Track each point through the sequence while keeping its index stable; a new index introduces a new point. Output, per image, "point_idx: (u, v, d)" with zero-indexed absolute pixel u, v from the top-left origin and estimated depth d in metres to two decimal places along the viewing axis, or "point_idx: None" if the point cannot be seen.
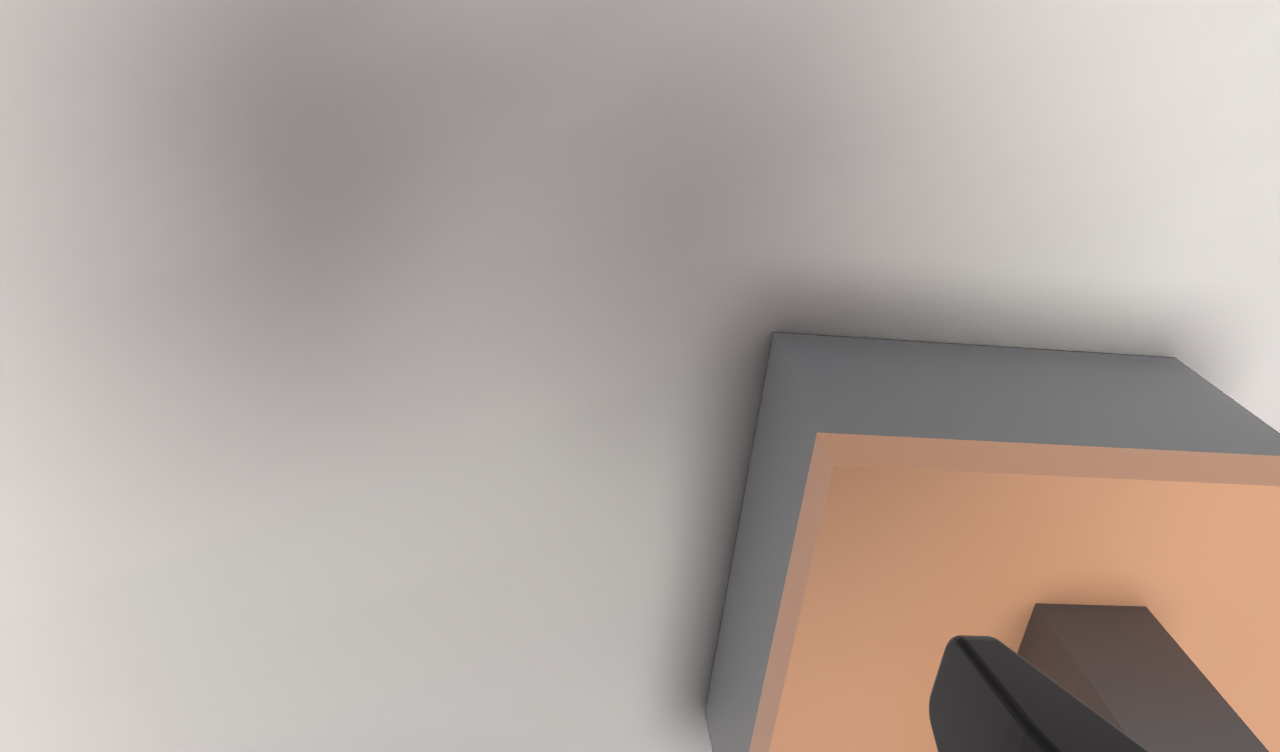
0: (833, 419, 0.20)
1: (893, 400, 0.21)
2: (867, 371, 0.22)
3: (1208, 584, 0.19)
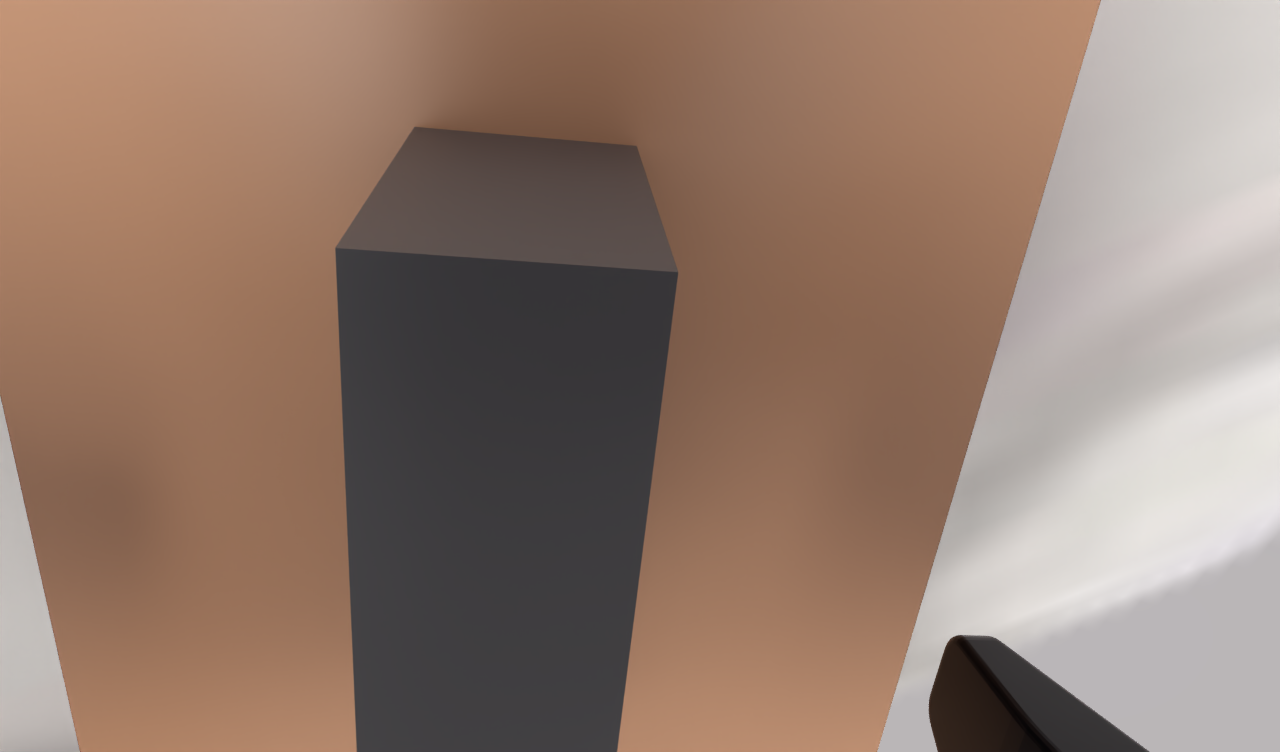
0: None
1: None
2: None
3: (746, 99, 0.10)
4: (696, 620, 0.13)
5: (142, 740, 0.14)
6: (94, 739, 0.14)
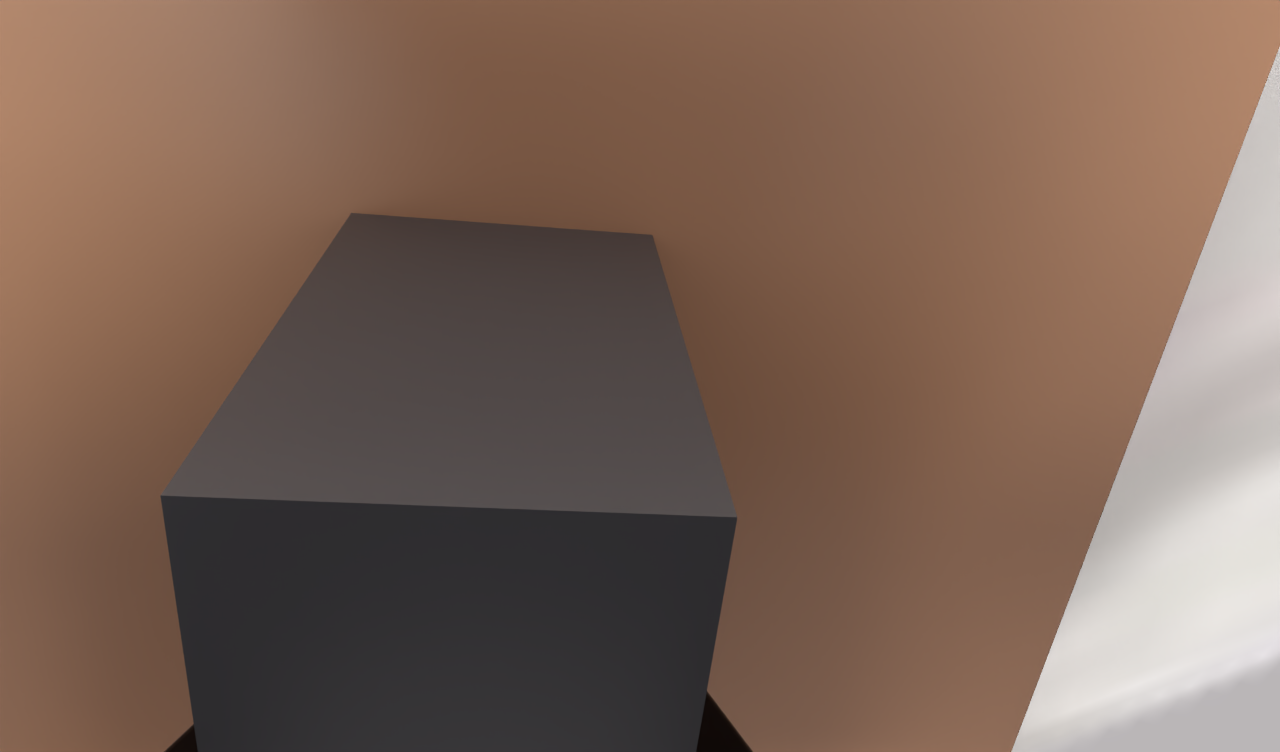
0: None
1: None
2: None
3: (801, 172, 0.08)
4: None
5: None
6: None
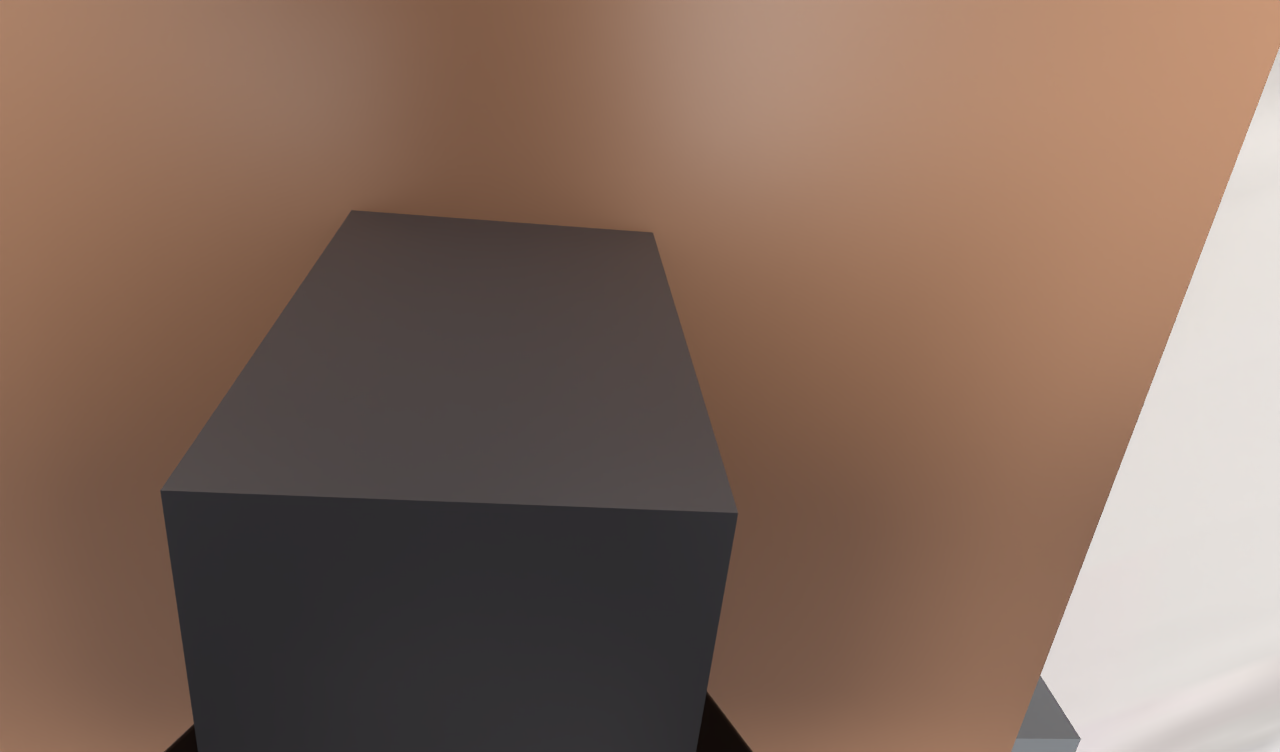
0: None
1: None
2: None
3: (801, 169, 0.08)
4: None
5: None
6: None
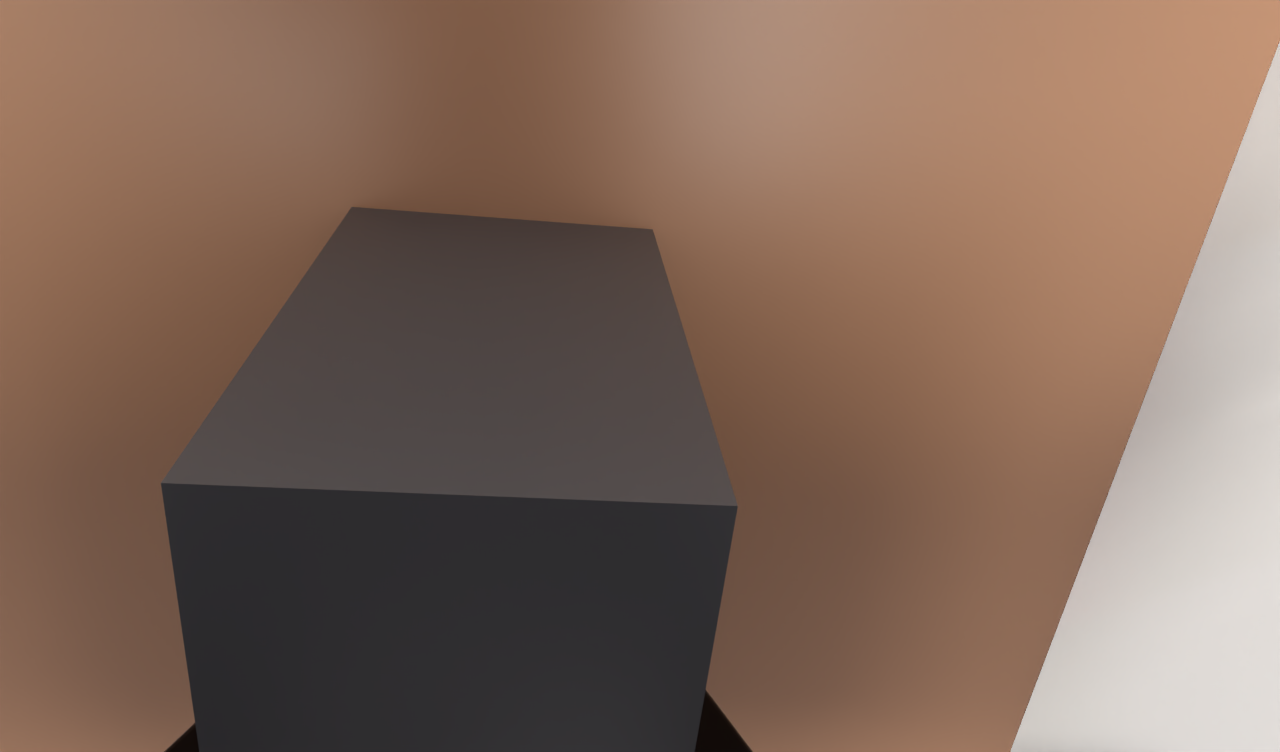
0: None
1: None
2: None
3: (801, 166, 0.08)
4: None
5: None
6: None
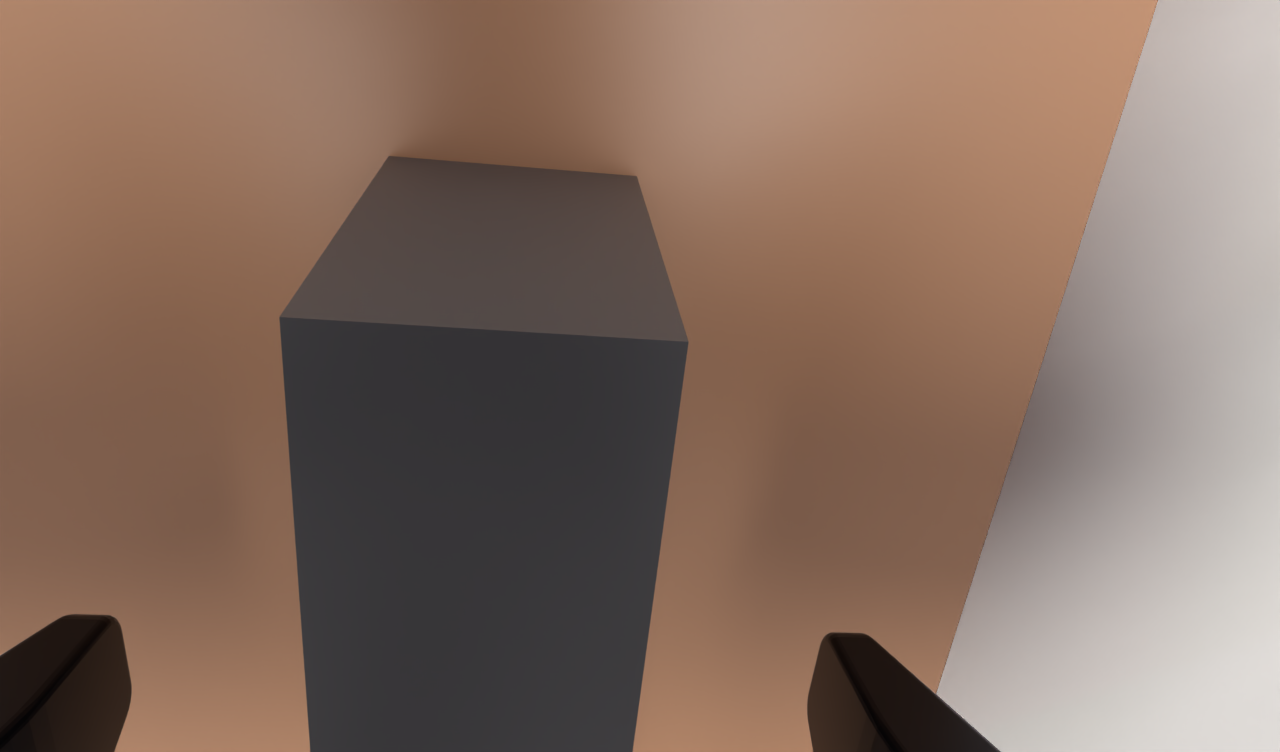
0: None
1: None
2: None
3: (758, 123, 0.09)
4: (701, 684, 0.12)
5: None
6: None
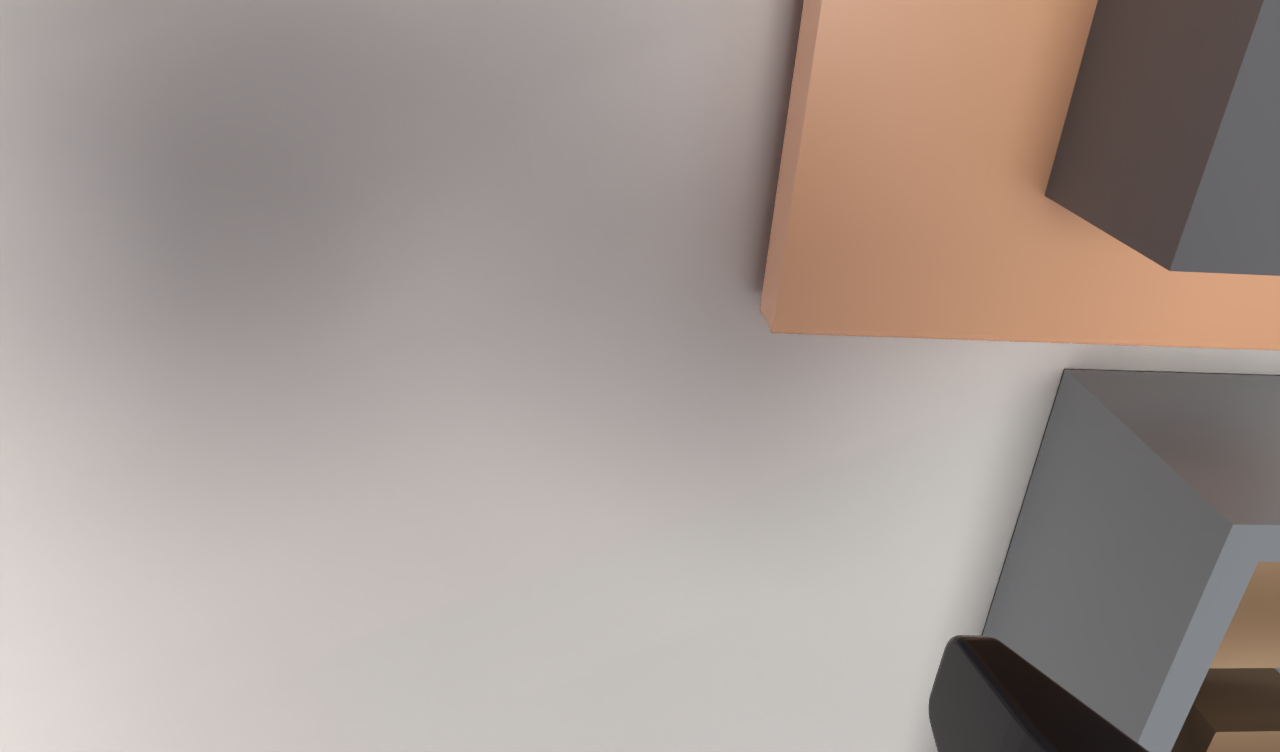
0: (1198, 477, 0.18)
1: (1243, 449, 0.19)
2: (1192, 414, 0.20)
3: None
4: None
5: (831, 246, 0.18)
6: (797, 244, 0.18)
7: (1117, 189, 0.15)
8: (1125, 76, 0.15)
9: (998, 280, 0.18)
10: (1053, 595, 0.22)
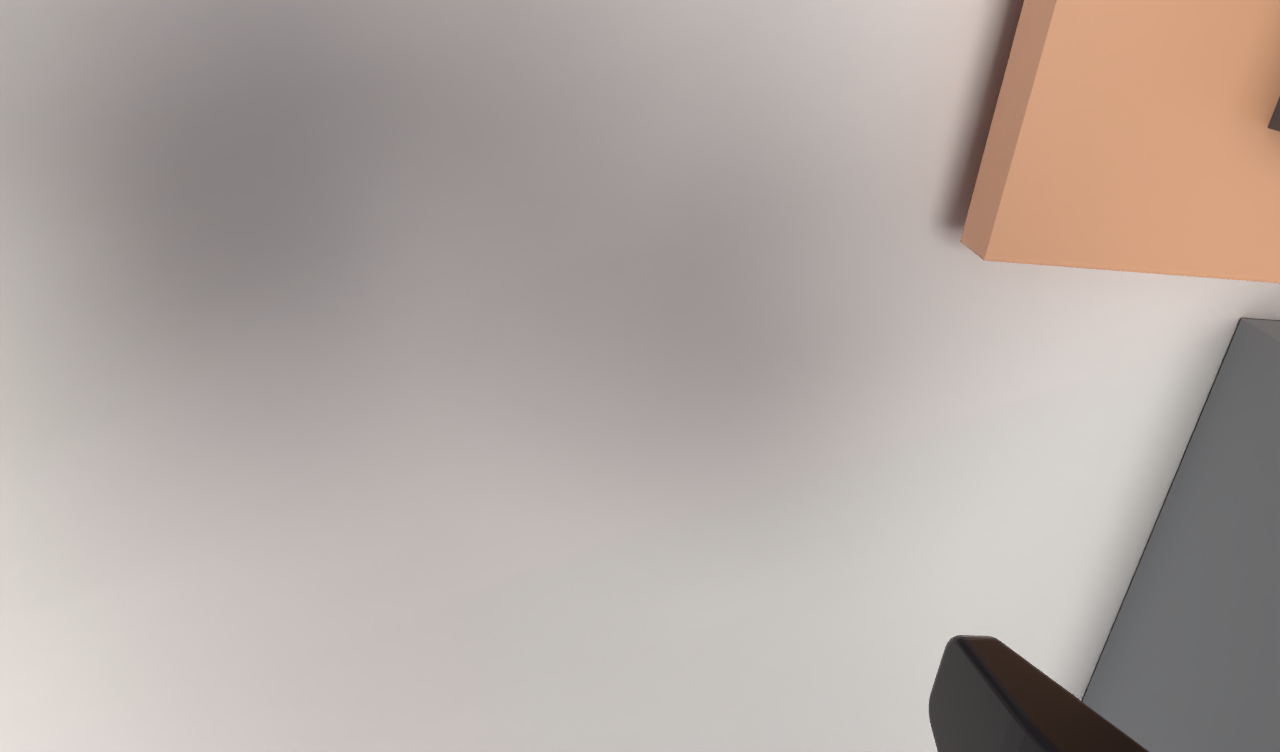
0: None
1: None
2: None
3: None
4: None
5: (1054, 172, 0.18)
6: (1021, 168, 0.18)
7: None
8: None
9: (1210, 214, 0.18)
10: (1224, 544, 0.22)
